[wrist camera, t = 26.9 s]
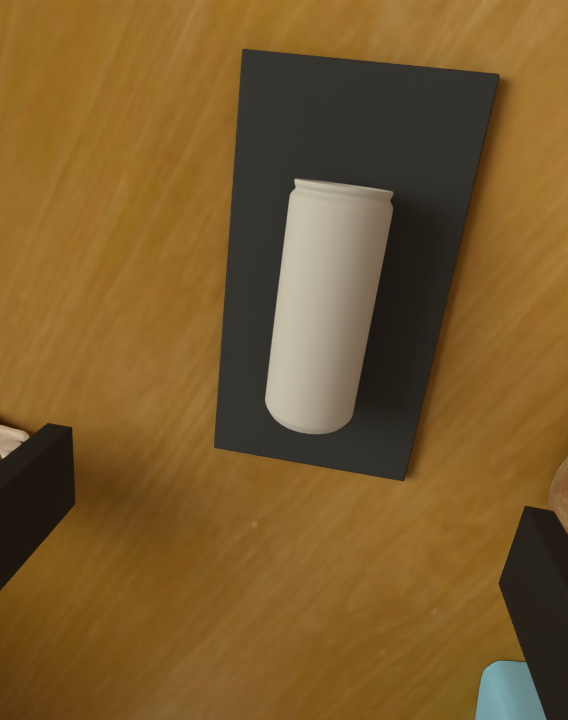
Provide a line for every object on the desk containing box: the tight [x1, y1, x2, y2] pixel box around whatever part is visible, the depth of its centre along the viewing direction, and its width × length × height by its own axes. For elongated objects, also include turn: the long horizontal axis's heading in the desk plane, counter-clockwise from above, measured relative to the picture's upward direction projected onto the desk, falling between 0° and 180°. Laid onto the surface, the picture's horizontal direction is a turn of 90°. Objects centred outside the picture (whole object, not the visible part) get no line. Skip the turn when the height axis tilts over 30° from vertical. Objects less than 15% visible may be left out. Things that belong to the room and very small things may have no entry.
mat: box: [214, 49, 499, 481], centre depth 27 cm, size 22×12×1 cm, turn 174°
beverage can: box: [265, 178, 393, 434], centre depth 25 cm, size 5×5×12 cm
